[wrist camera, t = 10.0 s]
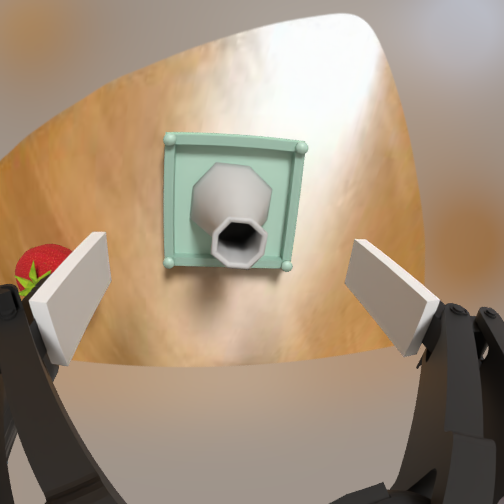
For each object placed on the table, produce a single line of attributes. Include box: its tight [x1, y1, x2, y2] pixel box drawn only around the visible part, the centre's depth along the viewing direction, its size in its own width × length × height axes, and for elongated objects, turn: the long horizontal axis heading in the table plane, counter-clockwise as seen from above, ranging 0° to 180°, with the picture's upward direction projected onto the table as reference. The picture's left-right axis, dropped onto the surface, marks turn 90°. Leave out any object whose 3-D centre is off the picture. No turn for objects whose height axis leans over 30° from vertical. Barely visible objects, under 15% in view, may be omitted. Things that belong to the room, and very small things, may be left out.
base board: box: [163, 132, 308, 272], centre depth 25 cm, size 12×12×3 cm
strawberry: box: [14, 244, 73, 296], centre depth 22 cm, size 6×8×10 cm
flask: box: [190, 162, 272, 270], centre depth 21 cm, size 7×7×10 cm
